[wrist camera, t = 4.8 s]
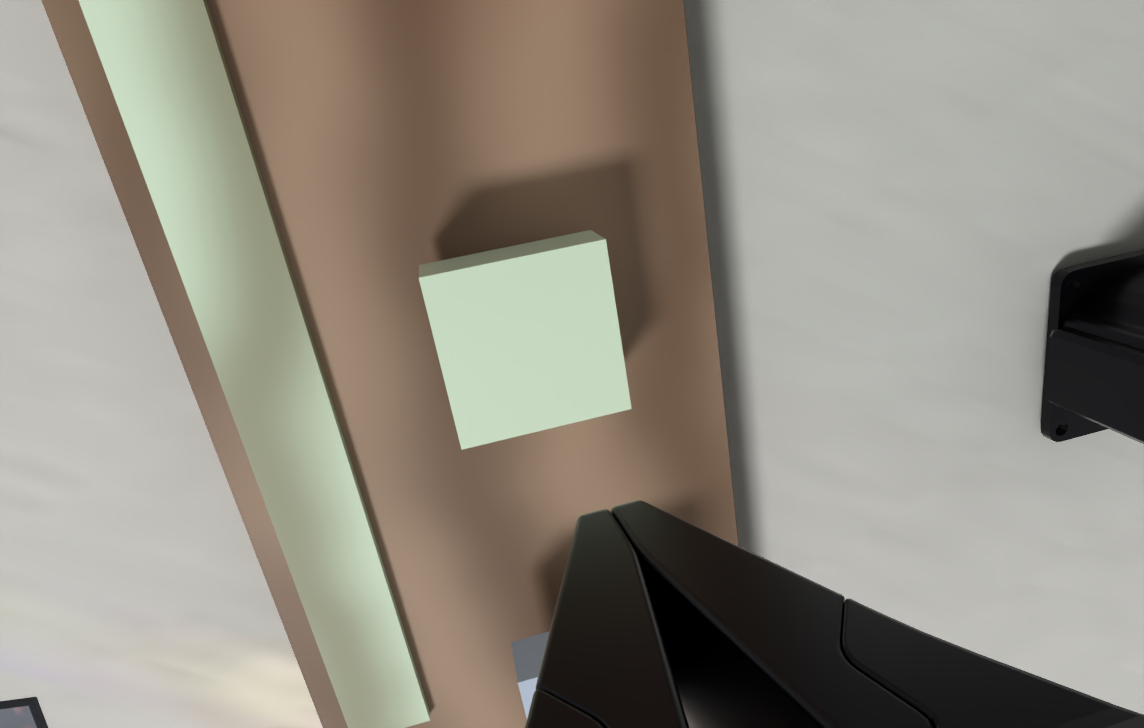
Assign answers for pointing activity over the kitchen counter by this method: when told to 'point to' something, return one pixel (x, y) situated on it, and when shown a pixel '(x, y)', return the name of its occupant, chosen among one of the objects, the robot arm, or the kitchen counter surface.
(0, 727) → the wallet
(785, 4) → the kitchen counter surface
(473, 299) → the sage green button
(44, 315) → the kitchen counter surface
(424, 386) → the button panel
